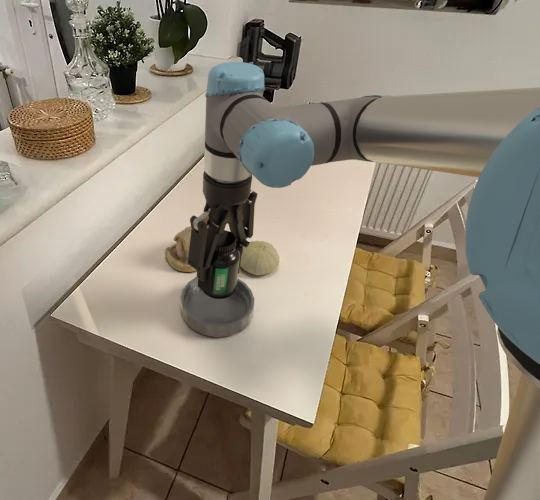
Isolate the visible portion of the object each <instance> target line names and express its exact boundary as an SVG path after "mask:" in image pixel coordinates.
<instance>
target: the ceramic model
mask: <svg viewBox="0 0 540 500" xmlns="http://www.w3.org/2000/svg"><path fill="white" fill-rule="evenodd" d="M214 225H215V224H214ZM191 229H192V228H191V225H190V226H187V227H185V228H184V229H182V230H181V231H179V232H177V233H176V234H175V235H174V237H173V242H175V243H174V244H171V245H170V246H166V247H165V249H164V255H165V258H166V260H167V262H168V264H169V265H170V267H172V268H173V269H174V270H176V271H179V272H186V273H192V272H197V270H196V269H194V268H193V267H191V266H190V265H189V264H188V254H189V246H190V237H191Z"/></svg>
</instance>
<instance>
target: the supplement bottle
mask: <svg viewBox="0 0 540 500" xmlns="http://www.w3.org/2000/svg"><path fill="white" fill-rule="evenodd" d="M239 263H240V252H239V250H238V248H237V247H236V237H235V235H234V234H233V233H231V232H230V230H227V229H225V230H224V232H223V233H222V234H220V236H219V239H218V242H217V245H216V248H215V251H214V254H213V257H212V260H211V263H210V264H211V265H212V266H213V276H212V290H211V293H210V294H209V295H208V294H207V293H206V292H204V291H203V290H202V291H203V292H204V293H205V294H206V295H207V296H209V297H211V298H214V299H224V298H228V297H230V296H231V295H232V294H233V293H234V292H235V290H236V287H237V279H239V274H238V271H239ZM239 272H240V271H239Z"/></svg>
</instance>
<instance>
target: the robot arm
mask: <svg viewBox="0 0 540 500" xmlns="http://www.w3.org/2000/svg"><path fill="white" fill-rule="evenodd" d="M265 90H266V87H265V74H264V71H263V69H262V68H261V67H259V66H258V65H256V64H253V63H249V62H245V61H244V62H242V61H227V62H220V63H218V64H216V65H214V66H213V67H211V68H210V70H209V72H208V75H207V84H206V92H205V95H204V96H205V99H206V100H205V124H204V125H205V126H204V154H203V155H204V156H203V170H204V171H203V174H202V193H203V196H204V199H205V205H204V207H203V212H202V213H201V214H200V215H198V216H196V215H192V216H191V217H190V218H189V223H190V226H191V228H192V229H191V237H190V246H189V254H188V264H189V265H190V266H191V267H193V268H194V269H196V277H197V278H198V287H199V288H200V289H202V290H203V291H204V292H206V293H207V294H208V295H209V294H210V293H211V290H212V276H213V266H212V265H211V264H210V263H211V260H212V257H213V254H214V251H215V248H216V245H217V242H218V239H219V236H220V234H222V233H223V232H224V230H226V226H227V224H228V227H229V228H228V229H229V231H230V232H231V233H233V234H234V235H235V237H236V247H237V248H238V250H239V252H240V263H241V256H242V254H243V246H244V247H248V245H249V243H250V242H251V241H248V240H247V239H251V238H253V236H254V225H255V208H256V207H255V204H256V202H257V198H258V193H257V192H256V191H254V190H252V182H253V177H254V178H255V179H256V180H257V181H258V182H259V183H260V184H262V185H263V186H266V187H268V188H271V189H281V188H286V187H288V186H291V185H292V183H294V182H296V181H299V180H301V179H302V178H303V177H305V175H306V174H307V173H308V171H309V170H310V168H311V167H314V166H320V165H324V164H329V163H335V162H342V161H361V162H369V163H378V164H385V165H393V166H399V167H406V168H411V169H412V168H413V169H418V170H426V171H434V172H440V173H446V174H453V175H458V176H459V175H460V176H467V177H474V178H478V179H477V180H476V183H475V186H474V188H473V190H472V193H471V196H470V200H469V203H468V207H467V212H466V218H465V227H464V249H465V258H466V263H467V268H468V271H469V274H470V275H472V276H479V278H480V280H481V281H482V283H483V286H484V288H485V289H484V290H483V291H481V292H480V293H478V298H479V300H480V302H481V304H482V306H483V307H484V309H485V311H486V312H487V314H488V315H489V317H490V318H491V320H492V321H493V323H494V324H495V325H496V326H497V331H496V333H497V334H496V335H497V338H498V342H499V344H500V347H501V348H502V351H503V352H504V354H505V355H506V356H507V358H508V359H509V360H510V362H511V363H512V364H513V365H514V366H515V368H517V369H518V370H519V372H521V375H520V377H519V381H518V384H517V387H516V390H515V393H514V397H513V400H512V404H511V407H510V410H509V414H508V417H507V420H506V424H505V428H504V431H503V434H502V437H501V441H500V444H499V447H498V450H497V454H496V457H495V460H494V464H493V468H492V470H491V474H490V478H489V481H488V484H487V488H486V490H485V494H484V497H483V500H540V87H526V88H525V87H524V88H523V87H522V88H508V89H488V90H472V91H471V90H470V91H456V92H454V91H453V92H439V93H438V92H437V93H422V94H421V93H420V94H405V95H403V94H402V95H388V94H387V95H385V94H383V95H381V94H372V95H364V96H360V97H354V98H345V99H339V100H338V99H337V100H333V101H324V102H322V101H321V102H314V103H306V104H298V105H288V106H281V107H278V106H275V105H273V103H271V102H270V101H268V99H266V98H265V97H264V96H263V95H264V91H265ZM214 224H215V225H214ZM240 263H239V271H238V275H239V274H240V270H241V266H240Z"/></svg>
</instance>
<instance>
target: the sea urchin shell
mask: <svg viewBox="0 0 540 500" xmlns="http://www.w3.org/2000/svg"><path fill="white" fill-rule="evenodd" d="M249 242H250V243H249V245H248V247H244V246H243V254H242V256H241V263H240V268H242V270H244V271H245V272H247V273H248V274H252V275H254V276H259V277H260V276H264V275H268V274H270V273H273V272H274V271H275V270H277V269H278V268H279V266H280V255H279V253H278V251H277V249H276V247H274V245H273V244H272V243H270V242H268V241H264V240H251V241H249Z"/></svg>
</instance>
